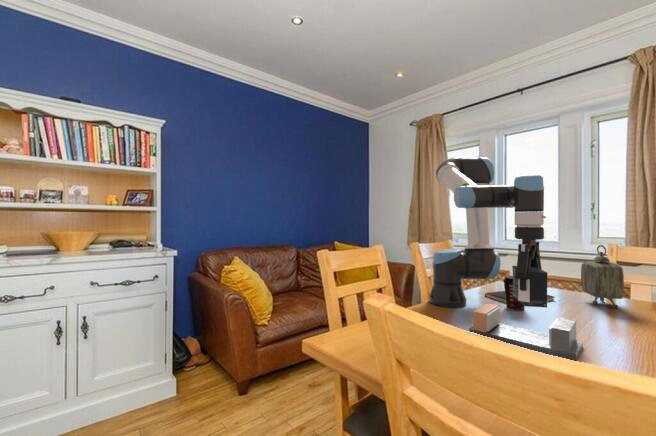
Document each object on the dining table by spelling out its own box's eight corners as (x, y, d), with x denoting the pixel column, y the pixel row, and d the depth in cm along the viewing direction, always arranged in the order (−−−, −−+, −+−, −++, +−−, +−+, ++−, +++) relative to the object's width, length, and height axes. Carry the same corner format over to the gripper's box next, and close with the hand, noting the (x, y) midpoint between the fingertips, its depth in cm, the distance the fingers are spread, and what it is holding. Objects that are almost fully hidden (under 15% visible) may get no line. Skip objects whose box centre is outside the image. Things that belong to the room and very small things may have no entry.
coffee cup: (526, 307, 131) (526, 275, 130) (529, 313, 123) (529, 279, 123) (502, 304, 134) (502, 274, 134) (504, 310, 127) (504, 278, 126)
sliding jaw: (472, 329, 103) (472, 311, 103) (486, 320, 111) (485, 303, 111) (487, 333, 99) (487, 314, 99) (500, 323, 108) (500, 305, 108)
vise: (468, 333, 104) (468, 310, 104) (482, 323, 112) (482, 302, 112) (576, 360, 84) (576, 332, 84) (582, 346, 92) (582, 321, 92)
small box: (549, 308, 91) (549, 271, 90) (524, 307, 92) (523, 271, 92) (534, 298, 101) (533, 265, 101) (511, 297, 102) (511, 265, 102)
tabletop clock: (623, 310, 124) (623, 247, 124) (596, 308, 127) (595, 246, 127) (604, 300, 138) (604, 243, 138) (580, 299, 141) (579, 243, 141)
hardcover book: (554, 301, 139) (554, 296, 139) (513, 307, 133) (513, 301, 133) (523, 293, 155) (523, 288, 155) (484, 297, 148) (484, 292, 148)
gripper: (533, 228, 85) (534, 308, 85) (552, 224, 102) (552, 291, 102) (502, 227, 90) (503, 303, 91) (525, 224, 107) (526, 288, 107)
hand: (529, 297), depth 96 cm, fingers closed on small box, 12 cm apart
